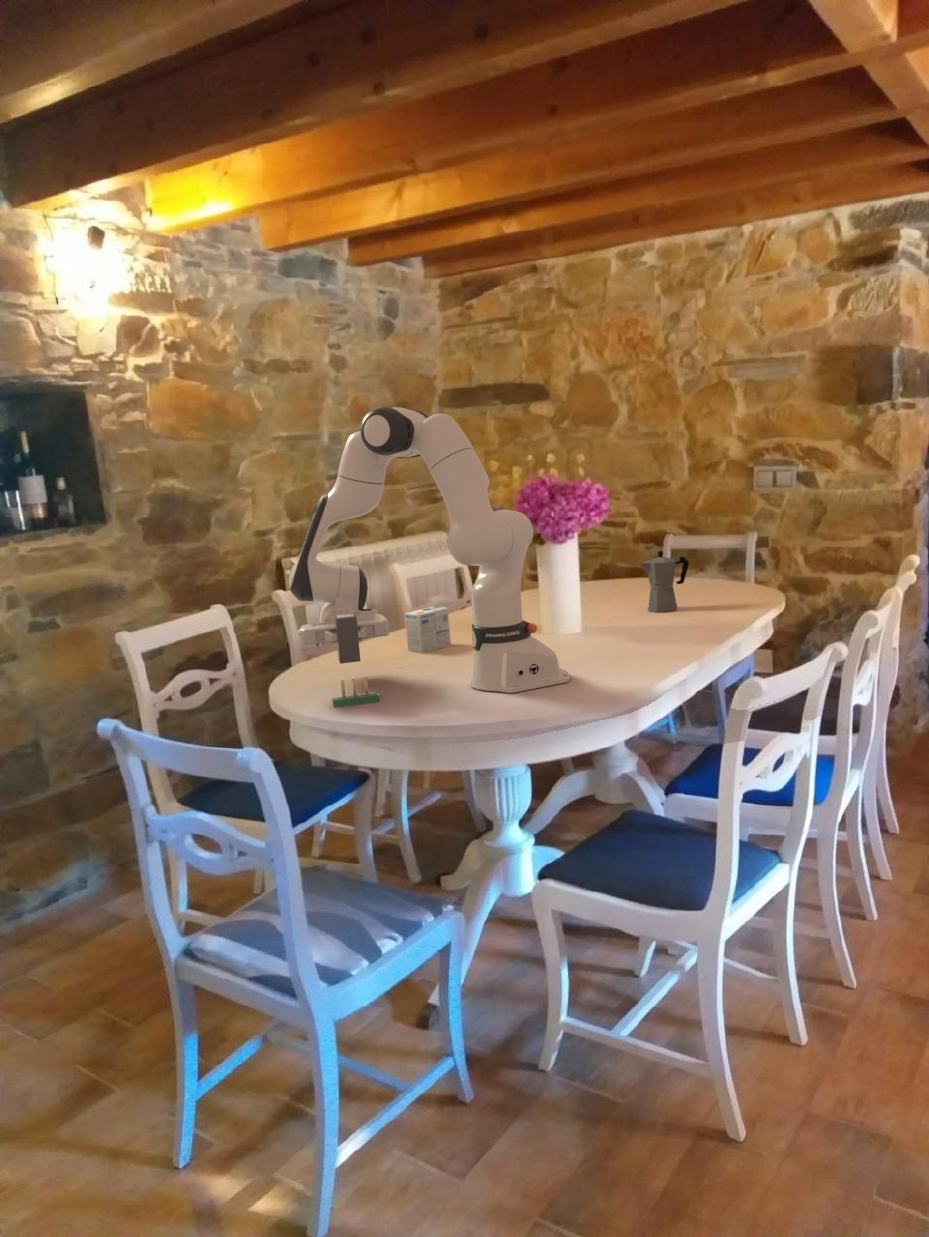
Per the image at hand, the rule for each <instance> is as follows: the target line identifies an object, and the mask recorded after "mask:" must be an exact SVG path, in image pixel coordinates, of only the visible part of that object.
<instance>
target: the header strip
mask: <svg viewBox="0 0 929 1237" xmlns="http://www.w3.org/2000/svg"><path fill="white" fill-rule="evenodd" d="M367 680H368V679H367V677H366V676H365V677H363V687H364V693H360V694H358V693H357V683H356V678H352V679H351V682H352V692H353V695H346V688H345V680H344V679H342V680H340V686H341V696H338V697H336V698H335V697H334V698H332V706H333V708H338V707H339V708H340V707H347V706H354V705H362V704H368V703H369V704H370V703H378V702H380V697H379V696H380V695H379V693H378V692H369V689H368V688H369V687H368V681H367Z"/></svg>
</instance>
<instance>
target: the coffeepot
mask: <svg viewBox="0 0 929 1237" xmlns="http://www.w3.org/2000/svg"><path fill="white" fill-rule="evenodd" d="M657 553H658V557H655V558H652V559H648V560H646V561H643V562H641V563H640V564H639V566H640V567H642V569H643V570H644V572H645V573H646V575H647V576H648V582H649V584H650V592H649V598H648V599H649V600H648V607H647V608H648V609H647V611H648V612H650V613H656V614H658V613H672V612H675V611H677V610H678V605H677V601H676V600H677V599H676V594H675V590H674V581H675V580H674V579H675V571H676V565H679V564H682V569H681V573H680V579H679V580H678V581H677V580H676V581H675V582H676V585H682V584H684V582H685V579H686V575H687V572H688V568H689V566H690V562H689V560H688V559H687V558H686V557H684V556H679V557H671V558H669V557H664V551H662V550H659V551H658V552H657Z"/></svg>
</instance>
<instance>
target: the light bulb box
mask: <svg viewBox="0 0 929 1237" xmlns="http://www.w3.org/2000/svg"><path fill="white" fill-rule="evenodd" d="M449 620H450V617H449V608H448V607H446V606H445V607H441V606H433V605H432V606H429V607H425V608H421V609H417V610H413V611H410V612H404V621H405V632H406V640H407V641H406V642H407V649H408V650H407V652H411V653H412V652H413V653H418V654H425V653H428V652H429V653H430V652H432V651H436V650H439V649H443V648H447V647H450V646H452V643H451V642H452V641H451V633H450V632H451V631H450V630H451V629H450V621H449Z"/></svg>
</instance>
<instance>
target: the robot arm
mask: <svg viewBox="0 0 929 1237" xmlns="http://www.w3.org/2000/svg"><path fill="white" fill-rule="evenodd" d="M344 445H345V446H344V448H343V450H342V451H343V452H342V454H341V458H340V462H339V466H338V472H337V476H336V481H335V483H334V485H333V487H332V488H331V490H330V491H329V492H328V493H326V494H323V495H322V496H320V498H319V500H318V502H317V503H316V505H315V508H314V510H313V513H312V516H311V519H310V521H309V524H308V527H307V531H306V533H305V536H304V539H303V542H302V545H301V547H300V550H299V553H298V555H297V559H296V561H295V563H294V564H293V567H292V568H291V570H290V574H289V578H288V587H289V588H288V589H289V591H290V593H291V594H292V595H293V596H294V597H295V598H296V599H297V600H298V601H300V602H320V603H325V604H323V606H322V607H321V610H320V612H319V622H315V623H306V624H302V625H301V626H300V628H299V629H297V635H298V636H299V639H300V644H301V645H303V646H309V645H318V644H325V643H326V644H327V643H330V644H331V643H332V644H333V645H336V646H337V642H338V639H337V633H336V629H335V618H334V616H336V615H345V614H355V616H356V617H357V628H358V639H359V641H361V640H365V639H371V638H372V639H373V638H379V637H380V638H381V637H387V636H389V635H390V625H389V623H390V622H389V620H388V618H387V617H386V616H384V615H383V614H381V613H378V610H377V609H375V608H365V605H366V602H367V597H368V588H369V587H368V579H367V576H366V575H365V572H364V571H363V569H361V567H359V566H356V565H350V564H344V563H339V564H338V563H333V562H332V563H331V562H326V561H325V562H324V561H321V560H318V559H317V556H318V554H319V551H320V548H321V546H322V542H323V539H324V537H325V533H326V532H327V530H328V528H330V526H332V525H334V524H336V523H338V522H341V521H346V520H350V519H354V518H359V517H363V516H365V515H367V514H369V513H371V512H372V511H374V509H376V508H377V507H378V505H379V504H380V501H381V499H382V495H383V492H384V486H385V481H386V474H387V469H388V466H389V464H390V462H391V461H392V460H393V459H395V458H397V459H407V458H417V457H421V458H422V459H423V461H424V462H425V464H426V466H427V467H426V468H427V469H428V471H429V473H430V474H431V476H432V479H433V481H434V482H435V485H436V487H437V488H438V491H439V492H440V495H441V496H442V499H443V501H444V503H445V504H444V505H445V506H446V510H447V515H448V518H449V519H448V520H449V532H448V535H447V546H448V550H449V553H450V556H452V558H453V559H454V560H455V561H456V562H458V563H459V564H461V565H464V566H471V567H472V566H473V567H476V566H477V567H479V569H478V573H477V577H476V580H475V582H474V583H473V585H472V588H471V592H470V594H471V595H470V597H471V606H472V622H473V623H472V625H471V639H472V641H471V642H472V648H473V649H474V656H473V658H474V659H473V671H472V677H471V678H472V679H471V682H470V686H471V687H472V688H474V689H477V690H480V691H488V692H503V693H507V694H514V693H520V692H525V691H529V690H535V689H539V688H540V689H541V688H545V687H549V686H555V685H559V684H564V683H568V682H570V680H571V676H570V673H569V672H568V671H567V670H565V669H563V668H562V667H560V663H559V659H558V657H557V655H556V653H555V651H554V650H553V649H552V648H550V647H549V646H547V645H546V644H544V643H543V642H542V641H540V640H539V639H536V637H534V636H532V634H535V633H537V631H538V630H539V628H538V625H536V624H535V623H533V622H528V621H526V620H524V619H523V612H522V611H523V610H522V593H521V591H522V590H521V589H522V588H521V587H522V578H523V577H522V576H523V571H524V565H525V560H526V555H527V552H528V548H529V547H530V545H531V543H532V541H533V538H534V528H533V524H532V522H531V520H530V519H529V517H528V516H526V515H525V514H524V513H522V512H521V511H516V510H511V509H500V510H494V509H493V508H492V505H491V502H490V501H491V500H490V498H489V490H488V489H489V486H490V478H489V476H488V473H487V472H486V470H485V468H484V466H483V464H482V462H481V460H480V458H479V456H478V454H477V452H476V451H475V448H474V447H473V445H472V443H471V442H470V440H469V438H468V437H467V435H466V434H465V432H464V430H463V429H462V428H461V426H460V425H459V424H458V423H457V421H456V420H455V419H454V418H453V417H452V416H451V415H449V414H447V413H436V414H432V415H427V414H426V413H424V412H421V411H418V410H413V409H412V410H411V409H407V407H406V408H404V407H400V406H399V407H397V406H395V407H389V406H381V407H377V408H375V409H373V410H371V411H369V412H367V413H366V415H365V416H364V417H363V420H362V421H361V425H360V430H359V431H355V432H353V433H352V434H350V435H349V436H348V438H347V440H346V443H345V444H344Z"/></svg>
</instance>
